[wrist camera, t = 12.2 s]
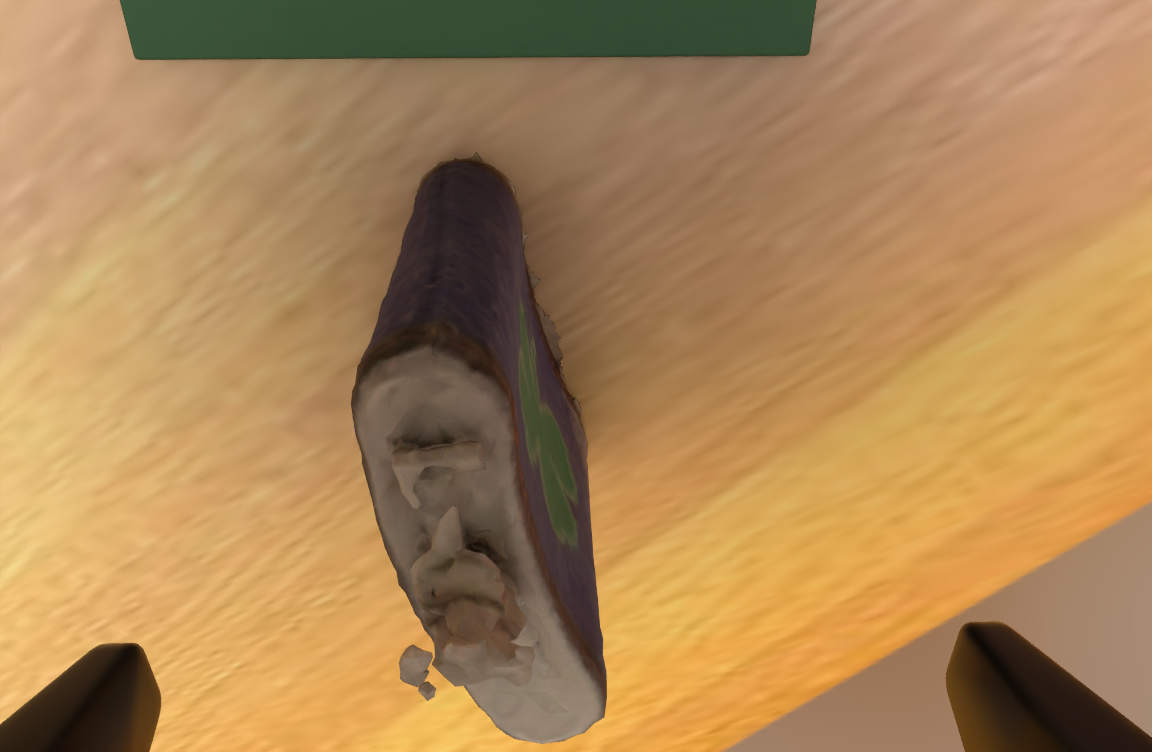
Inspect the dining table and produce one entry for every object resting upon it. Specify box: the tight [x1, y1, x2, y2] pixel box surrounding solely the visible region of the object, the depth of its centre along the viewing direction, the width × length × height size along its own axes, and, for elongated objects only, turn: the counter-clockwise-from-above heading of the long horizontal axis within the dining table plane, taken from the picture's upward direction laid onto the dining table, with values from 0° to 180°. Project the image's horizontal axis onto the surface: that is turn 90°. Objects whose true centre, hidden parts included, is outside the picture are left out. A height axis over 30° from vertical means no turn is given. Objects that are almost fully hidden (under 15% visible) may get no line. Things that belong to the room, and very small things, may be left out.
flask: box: [351, 152, 607, 744], centre depth 17 cm, size 9×3×11 cm, turn 13°
